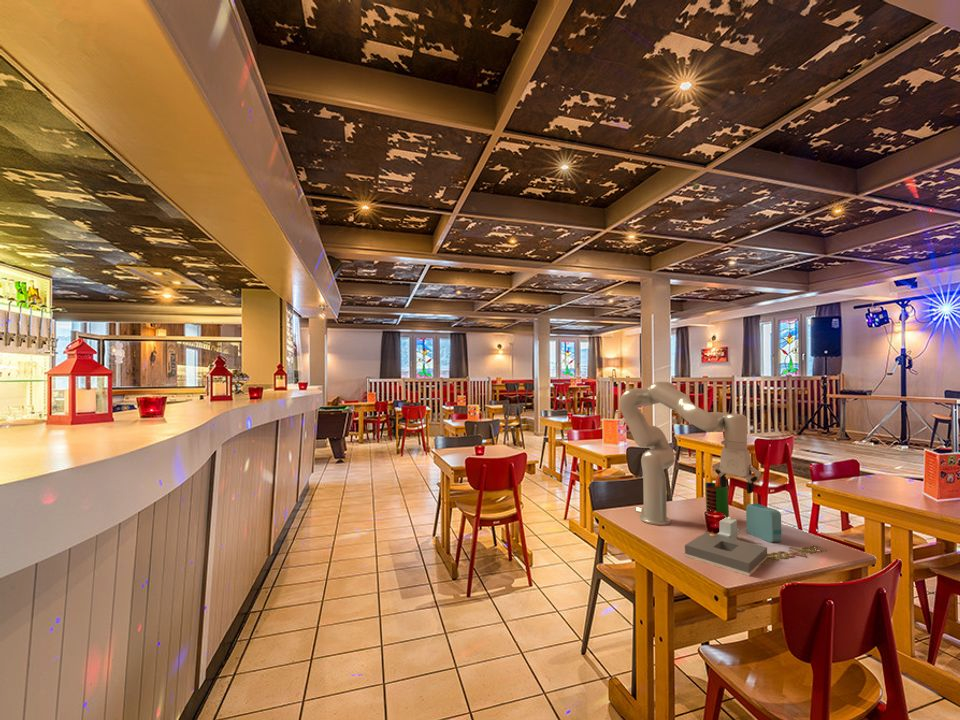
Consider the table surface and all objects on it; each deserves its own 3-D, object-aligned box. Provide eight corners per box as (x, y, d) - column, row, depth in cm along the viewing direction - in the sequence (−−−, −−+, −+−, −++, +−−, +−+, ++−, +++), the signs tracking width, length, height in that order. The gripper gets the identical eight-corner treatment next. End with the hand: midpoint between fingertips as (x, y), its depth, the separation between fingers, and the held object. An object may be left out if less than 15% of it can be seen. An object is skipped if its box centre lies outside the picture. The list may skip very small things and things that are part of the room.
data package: (782, 542, 165) (781, 511, 165) (772, 543, 164) (772, 512, 164) (755, 531, 176) (754, 502, 177) (746, 532, 175) (745, 503, 176)
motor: (700, 517, 194) (699, 473, 195) (717, 516, 196) (716, 472, 197) (717, 524, 184) (716, 478, 185) (734, 523, 186) (733, 477, 187)
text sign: (732, 559, 149) (753, 569, 142) (732, 557, 150) (753, 566, 142) (809, 545, 163) (832, 553, 155) (809, 543, 163) (832, 551, 156)
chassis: (685, 556, 151) (684, 544, 151) (706, 542, 164) (706, 531, 165) (749, 576, 136) (748, 562, 136) (767, 558, 149) (767, 546, 150)
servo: (717, 543, 163) (716, 520, 164) (728, 536, 171) (727, 514, 172) (728, 546, 160) (728, 522, 161) (739, 538, 168) (738, 516, 169)
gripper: (708, 443, 171) (708, 486, 170) (755, 449, 156) (756, 496, 155) (718, 442, 175) (718, 483, 174) (764, 448, 160) (765, 493, 159)
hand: (736, 490), depth 165 cm, fingers open, 9 cm apart
